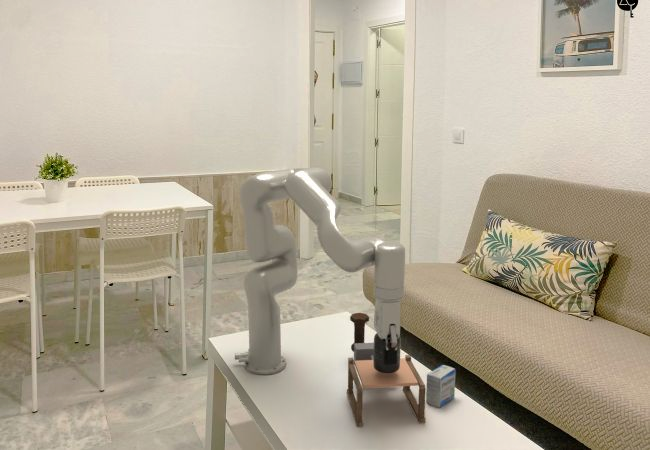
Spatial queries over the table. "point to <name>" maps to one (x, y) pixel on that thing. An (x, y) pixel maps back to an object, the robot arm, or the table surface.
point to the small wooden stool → (417, 408)
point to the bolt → (359, 327)
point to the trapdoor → (378, 379)
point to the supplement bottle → (379, 356)
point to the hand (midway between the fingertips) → (386, 356)
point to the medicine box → (440, 385)
